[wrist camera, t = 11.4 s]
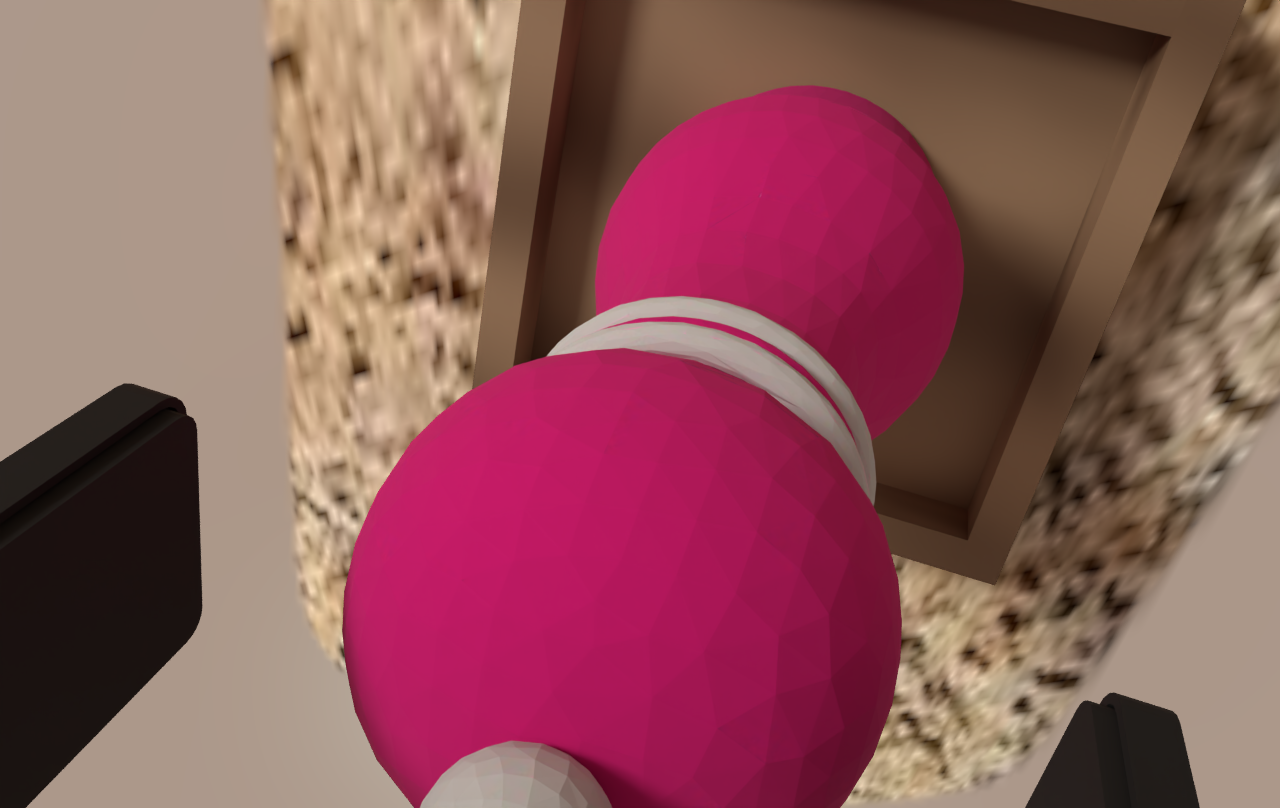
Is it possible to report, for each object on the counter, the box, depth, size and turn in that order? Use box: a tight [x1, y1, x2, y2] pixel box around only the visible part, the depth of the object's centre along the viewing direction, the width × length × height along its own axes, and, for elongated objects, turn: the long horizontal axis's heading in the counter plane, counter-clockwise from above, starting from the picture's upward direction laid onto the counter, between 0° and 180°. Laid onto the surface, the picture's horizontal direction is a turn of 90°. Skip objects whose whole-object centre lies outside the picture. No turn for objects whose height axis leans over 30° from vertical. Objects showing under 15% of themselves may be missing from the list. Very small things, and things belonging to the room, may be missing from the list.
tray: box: [472, 0, 1246, 585], centre depth 26 cm, size 14×14×2 cm
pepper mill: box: [342, 85, 964, 808], centre depth 17 cm, size 7×7×20 cm
